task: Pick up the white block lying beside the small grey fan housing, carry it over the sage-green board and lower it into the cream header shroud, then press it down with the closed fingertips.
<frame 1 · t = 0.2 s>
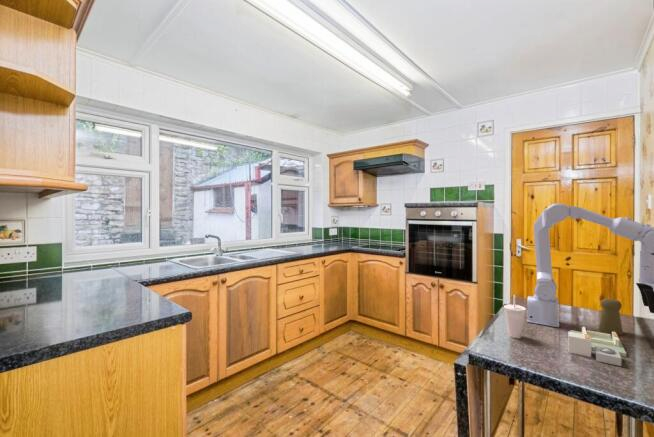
hand: (651, 309, 96), 10 cm above the countertop, fingers open, 7 cm apart
fan housing: (607, 359, 86), on the countertop
white block: (579, 352, 90), on the countertop
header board: (595, 343, 95), on the countertop
dark olive bottle: (610, 331, 104), on the countertop
smoothie: (514, 336, 102), on the countertop
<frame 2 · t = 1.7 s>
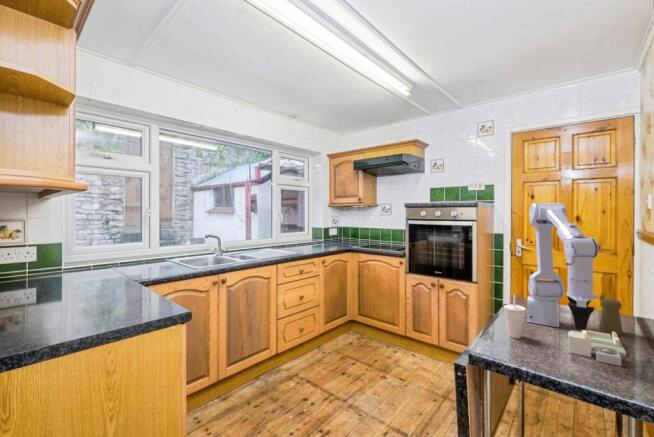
hand: (579, 325, 90), 8 cm above the countertop, fingers open, 7 cm apart
nothing on the countertop moved.
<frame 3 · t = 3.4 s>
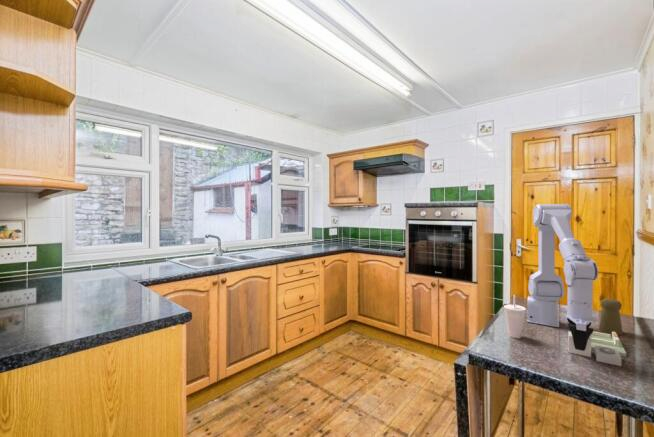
hand: (579, 346, 90), 2 cm above the countertop, fingers closed on white block, 4 cm apart
white block: (579, 352, 90), on the countertop, touching gripper
everything else where it was.
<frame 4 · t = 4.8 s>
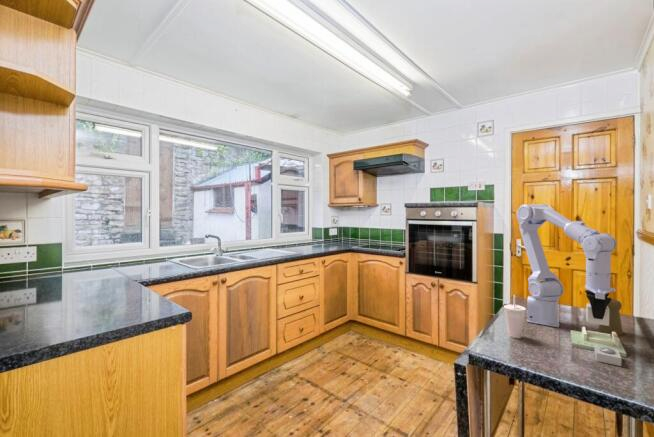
hand: (597, 316, 95), 9 cm above the countertop, fingers closed on white block, 4 cm apart
white block: (597, 322, 95), point 7 cm above the countertop, touching gripper
everything else where it was.
when the fingers open (3 cm above the countertop, at t = 6.4 s): white block stays where it is, resting on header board.
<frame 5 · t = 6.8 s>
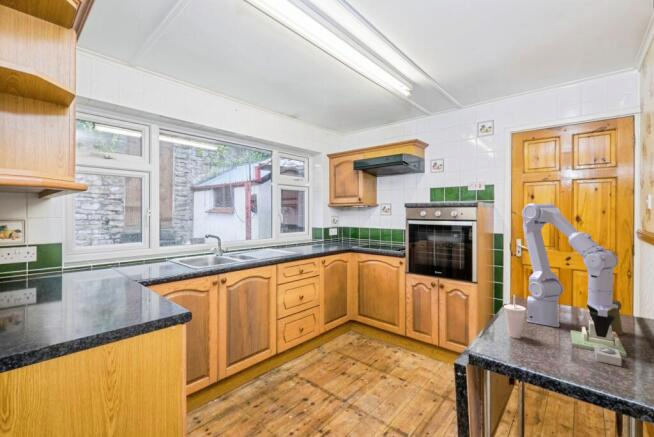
hand: (599, 332, 96), 3 cm above the countertop, fingers open, 7 cm apart
white block: (599, 339, 96), point 1 cm above the countertop, touching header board
everything else where it was.
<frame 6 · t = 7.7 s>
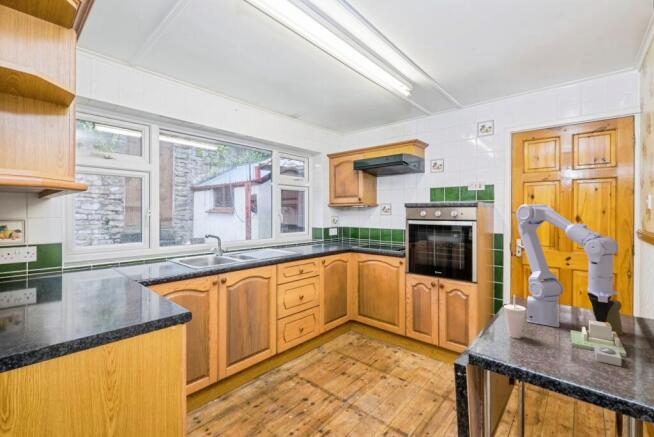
hand: (599, 319, 96), 7 cm above the countertop, fingers open, 4 cm apart
nothing on the countertop moved.
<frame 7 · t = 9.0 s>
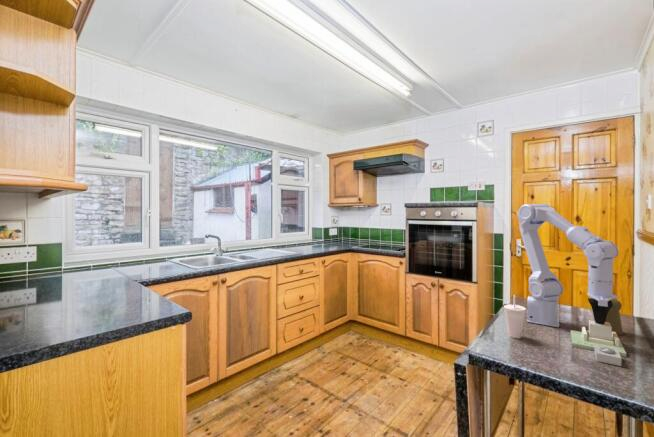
hand: (599, 322, 96), 6 cm above the countertop, fingers closed
nothing on the countertop moved.
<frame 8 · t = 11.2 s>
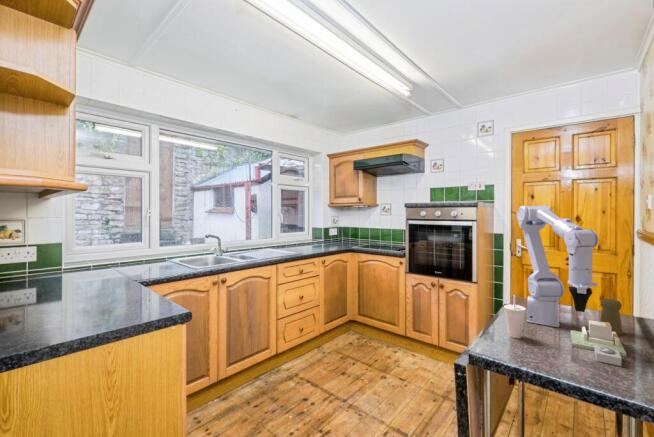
hand: (579, 310, 96), 10 cm above the countertop, fingers closed
nothing on the countertop moved.
at the end: white block 0.0 cm from the target spot on the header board, point 1.0 cm above the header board's base; white block tilted 0°; the gripper is holding nothing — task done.
